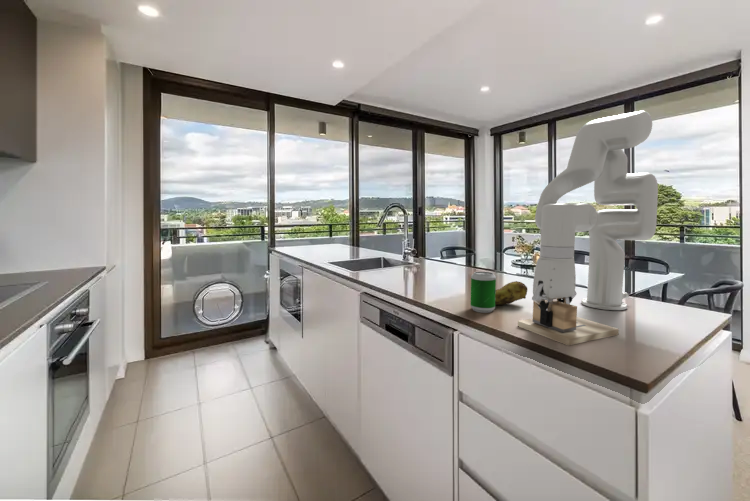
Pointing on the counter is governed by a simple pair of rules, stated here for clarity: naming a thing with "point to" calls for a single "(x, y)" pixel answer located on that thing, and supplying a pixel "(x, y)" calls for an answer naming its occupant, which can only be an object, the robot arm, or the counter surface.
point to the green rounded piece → (510, 293)
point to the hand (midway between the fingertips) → (553, 323)
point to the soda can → (483, 291)
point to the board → (583, 331)
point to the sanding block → (559, 316)
